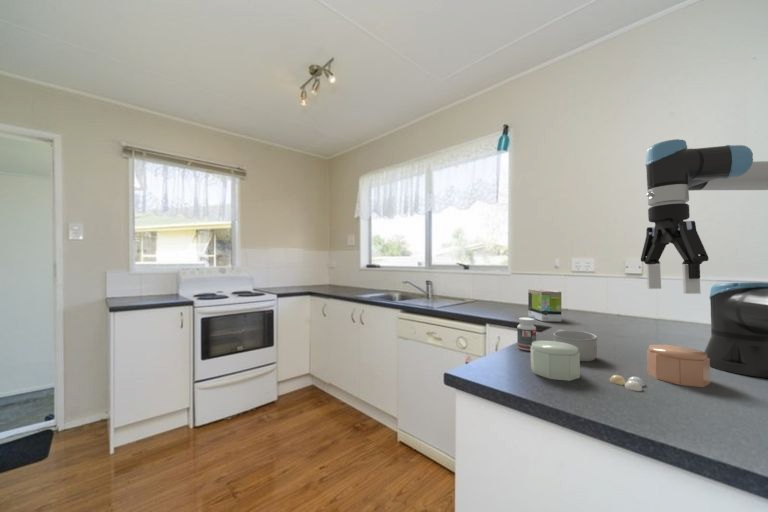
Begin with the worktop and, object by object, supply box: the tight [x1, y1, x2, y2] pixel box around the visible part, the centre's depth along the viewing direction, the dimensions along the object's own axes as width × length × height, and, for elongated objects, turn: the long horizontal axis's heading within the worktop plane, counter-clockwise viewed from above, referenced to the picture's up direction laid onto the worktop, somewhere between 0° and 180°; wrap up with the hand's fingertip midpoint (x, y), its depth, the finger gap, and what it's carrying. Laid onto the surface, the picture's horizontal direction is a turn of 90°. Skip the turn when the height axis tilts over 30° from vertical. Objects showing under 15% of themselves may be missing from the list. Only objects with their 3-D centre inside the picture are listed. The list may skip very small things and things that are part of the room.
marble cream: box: [624, 380, 643, 392], centre depth 67 cm, size 3×3×3 cm
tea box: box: [527, 288, 563, 323], centre depth 158 cm, size 15×10×15 cm
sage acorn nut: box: [530, 340, 581, 382], centre depth 77 cm, size 10×10×8 cm
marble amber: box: [609, 374, 627, 386], centre depth 70 cm, size 3×3×3 cm
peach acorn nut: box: [646, 343, 711, 388], centre depth 73 cm, size 10×10×8 cm
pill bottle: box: [516, 317, 537, 352], centre depth 103 cm, size 6×6×10 cm
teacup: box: [552, 329, 598, 362], centre depth 91 cm, size 14×11×8 cm
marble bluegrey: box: [626, 376, 645, 388], centre depth 69 cm, size 3×3×3 cm
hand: (671, 290), depth 76 cm, fingers open, 13 cm apart
